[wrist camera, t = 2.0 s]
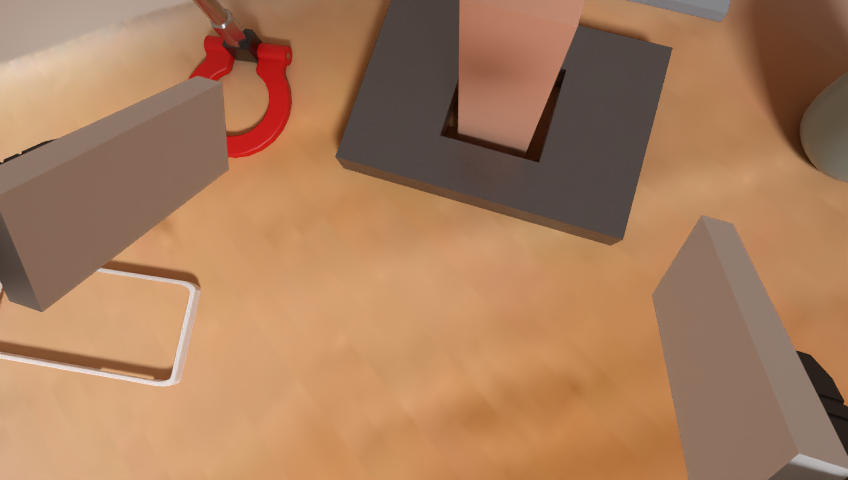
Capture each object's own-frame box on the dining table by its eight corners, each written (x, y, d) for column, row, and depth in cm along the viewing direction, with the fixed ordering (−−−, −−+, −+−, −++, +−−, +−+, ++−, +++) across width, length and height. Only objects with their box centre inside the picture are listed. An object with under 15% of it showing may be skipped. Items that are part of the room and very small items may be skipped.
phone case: (205, 284, 36) (20, 255, 37) (196, 282, 35) (4, 252, 36) (183, 386, 35) (-8, 352, 36) (172, 388, 34) (-26, 354, 35)
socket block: (657, 66, 36) (672, 47, 34) (611, 245, 34) (622, 239, 32) (401, 3, 38) (397, -19, 36) (343, 168, 36) (335, 156, 34)
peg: (542, 95, 36) (607, -78, 21) (523, 157, 36) (577, 26, 20) (477, 78, 37) (493, -103, 21) (458, 139, 36) (459, -2, 20)
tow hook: (280, 167, 37) (305, 53, 38) (185, 98, 24) (226, -71, 25) (178, 150, 38) (205, 39, 39) (34, 75, 25) (79, -88, 26)
